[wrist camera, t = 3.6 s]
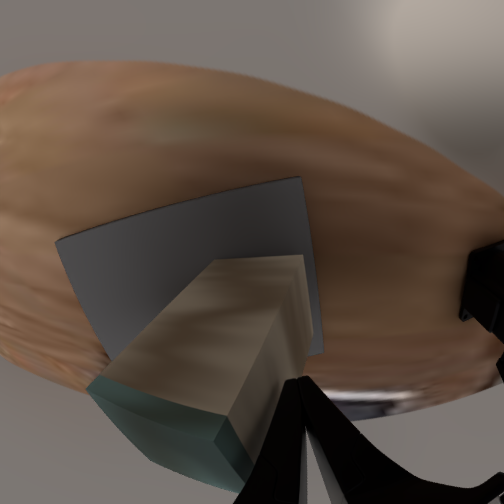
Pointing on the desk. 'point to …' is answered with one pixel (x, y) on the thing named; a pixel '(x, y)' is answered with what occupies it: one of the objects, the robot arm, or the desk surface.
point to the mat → (183, 254)
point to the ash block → (212, 369)
